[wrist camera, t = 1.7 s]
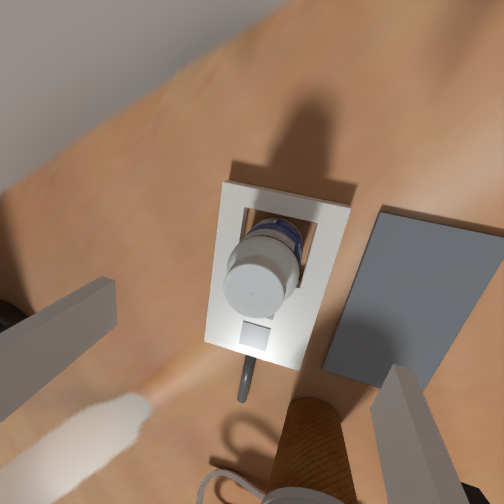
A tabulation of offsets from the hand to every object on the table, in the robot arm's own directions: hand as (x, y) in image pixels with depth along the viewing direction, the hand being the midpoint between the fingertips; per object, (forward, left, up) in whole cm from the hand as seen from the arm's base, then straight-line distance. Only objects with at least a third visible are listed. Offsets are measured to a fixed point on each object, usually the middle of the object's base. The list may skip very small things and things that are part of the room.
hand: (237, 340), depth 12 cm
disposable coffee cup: (+9, -21, -15) cm, 27 cm away
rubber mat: (+13, -4, -14) cm, 20 cm away
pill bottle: (0, 0, -15) cm, 15 cm away
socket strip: (0, -8, -14) cm, 17 cm away
